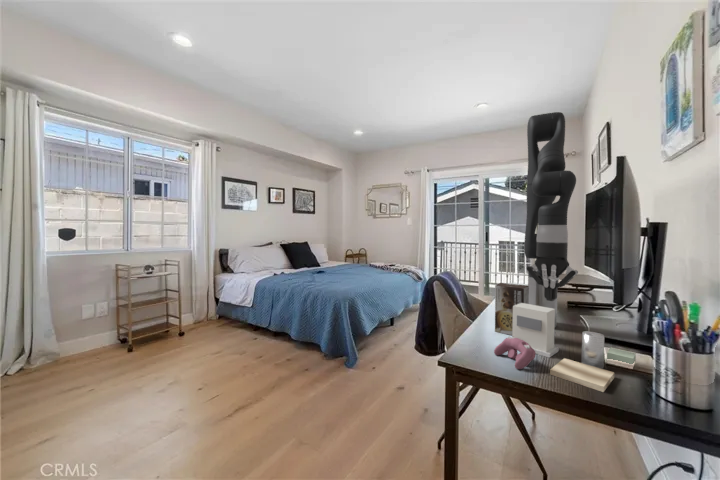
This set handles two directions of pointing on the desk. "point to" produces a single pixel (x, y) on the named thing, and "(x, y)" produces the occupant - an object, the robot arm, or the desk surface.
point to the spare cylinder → (593, 349)
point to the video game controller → (512, 347)
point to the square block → (621, 355)
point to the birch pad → (583, 374)
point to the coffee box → (508, 304)
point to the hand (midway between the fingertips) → (550, 300)
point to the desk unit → (535, 327)
